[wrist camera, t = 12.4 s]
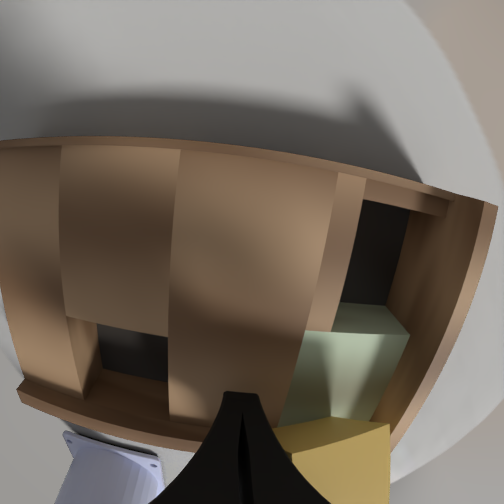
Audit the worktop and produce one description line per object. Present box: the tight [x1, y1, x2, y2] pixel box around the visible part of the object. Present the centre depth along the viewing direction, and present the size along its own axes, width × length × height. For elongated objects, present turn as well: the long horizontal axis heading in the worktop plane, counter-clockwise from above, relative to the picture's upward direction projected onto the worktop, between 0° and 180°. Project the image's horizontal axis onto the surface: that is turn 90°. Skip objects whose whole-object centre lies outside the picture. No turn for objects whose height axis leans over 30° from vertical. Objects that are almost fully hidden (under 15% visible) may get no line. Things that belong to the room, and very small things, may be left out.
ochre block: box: [272, 416, 390, 504], centre depth 9 cm, size 4×4×4 cm
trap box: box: [0, 136, 498, 454], centre depth 11 cm, size 13×19×5 cm
